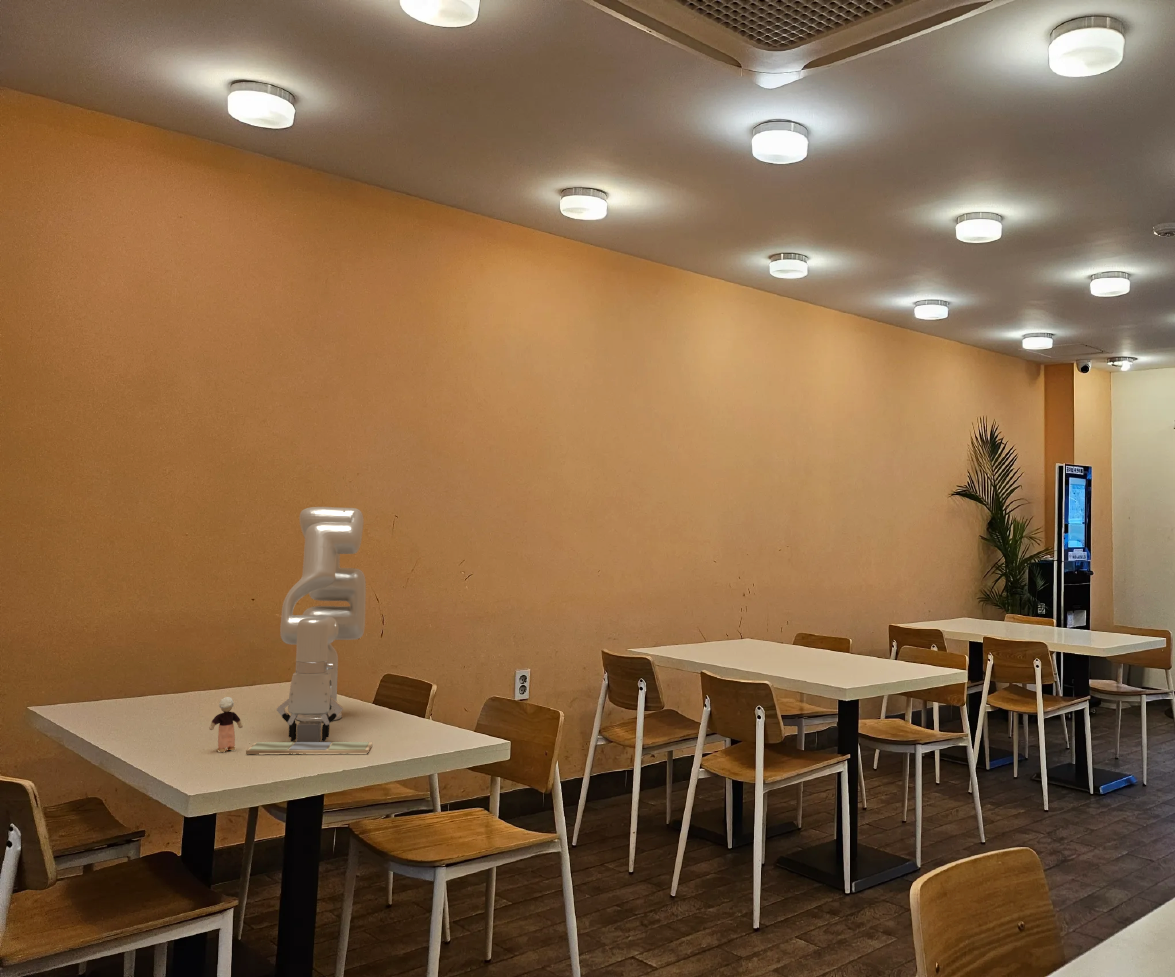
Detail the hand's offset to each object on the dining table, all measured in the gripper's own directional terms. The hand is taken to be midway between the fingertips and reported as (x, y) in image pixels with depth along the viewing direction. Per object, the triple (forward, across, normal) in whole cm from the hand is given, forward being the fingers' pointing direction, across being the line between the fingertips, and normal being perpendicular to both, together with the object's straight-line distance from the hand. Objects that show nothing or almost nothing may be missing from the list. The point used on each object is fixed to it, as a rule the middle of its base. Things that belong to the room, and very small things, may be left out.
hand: (308, 739), depth 238 cm
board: (+1, -2, +9) cm, 9 cm away
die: (+1, 0, 0) cm, 1 cm away
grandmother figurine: (+1, +18, +9) cm, 20 cm away
